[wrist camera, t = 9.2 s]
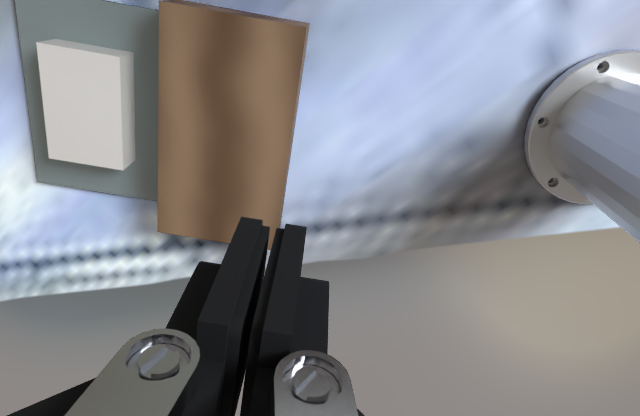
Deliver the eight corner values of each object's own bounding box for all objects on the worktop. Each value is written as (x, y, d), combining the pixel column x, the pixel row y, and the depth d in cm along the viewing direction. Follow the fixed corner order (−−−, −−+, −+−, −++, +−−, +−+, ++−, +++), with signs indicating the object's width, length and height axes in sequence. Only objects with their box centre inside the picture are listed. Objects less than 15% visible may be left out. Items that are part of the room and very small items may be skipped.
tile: (36, 42, 32) (55, 38, 35) (48, 158, 36) (65, 148, 39) (119, 56, 33) (133, 52, 35) (123, 170, 37) (135, 160, 39)
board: (309, 23, 34) (306, 27, 30) (279, 228, 42) (274, 250, 38) (178, -1, 34) (159, 0, 30) (173, 210, 41) (157, 231, 38)
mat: (171, 12, 34) (168, 12, 34) (167, 200, 41) (166, 202, 41) (17, -16, 33) (12, -16, 33) (40, 179, 40) (37, 181, 40)
